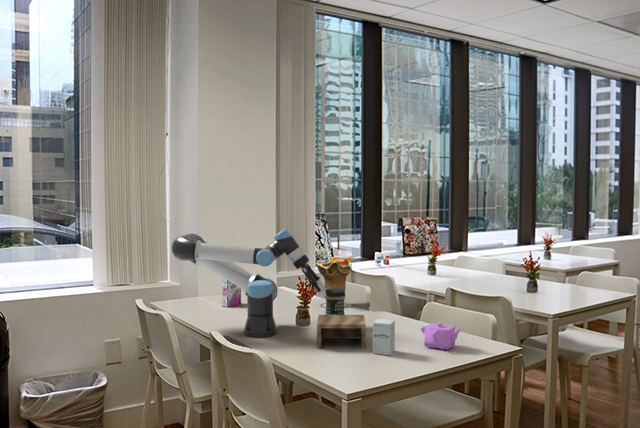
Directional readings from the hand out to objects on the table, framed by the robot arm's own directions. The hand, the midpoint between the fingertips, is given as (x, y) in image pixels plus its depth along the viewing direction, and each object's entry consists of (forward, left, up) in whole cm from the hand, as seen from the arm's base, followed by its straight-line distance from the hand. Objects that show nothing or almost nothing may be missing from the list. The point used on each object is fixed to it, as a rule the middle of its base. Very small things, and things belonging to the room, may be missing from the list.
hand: (324, 294), depth 261 cm
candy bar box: (-55, +50, -16) cm, 76 cm away
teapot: (+49, -35, -16) cm, 62 cm away
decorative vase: (+4, +50, -16) cm, 53 cm away
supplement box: (+25, -42, -16) cm, 52 cm away
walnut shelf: (+8, -28, -16) cm, 33 cm away
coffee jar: (+5, 0, -16) cm, 17 cm away
